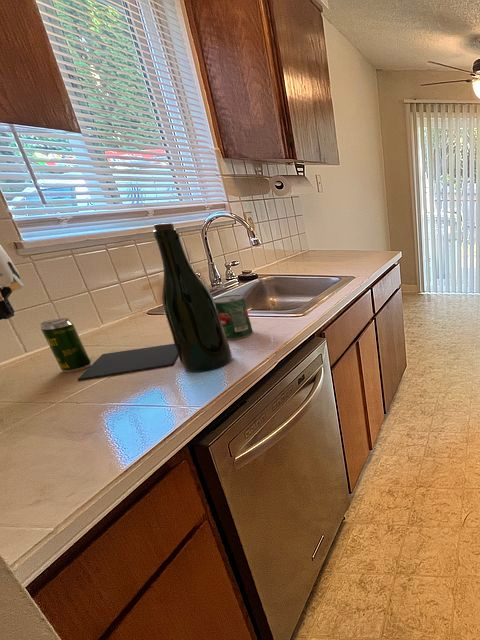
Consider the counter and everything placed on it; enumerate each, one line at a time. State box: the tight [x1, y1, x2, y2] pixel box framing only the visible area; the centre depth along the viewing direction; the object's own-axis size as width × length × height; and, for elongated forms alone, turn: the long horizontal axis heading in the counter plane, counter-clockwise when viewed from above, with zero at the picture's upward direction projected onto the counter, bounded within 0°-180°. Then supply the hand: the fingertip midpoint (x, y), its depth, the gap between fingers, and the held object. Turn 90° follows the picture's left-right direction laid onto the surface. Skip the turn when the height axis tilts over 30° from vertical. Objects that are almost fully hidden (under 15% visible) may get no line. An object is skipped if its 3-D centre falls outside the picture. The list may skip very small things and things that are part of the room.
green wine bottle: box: [153, 222, 233, 373], centre depth 91 cm, size 10×10×33 cm
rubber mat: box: [77, 343, 179, 382], centre depth 101 cm, size 18×16×1 cm
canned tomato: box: [213, 294, 254, 341], centre depth 114 cm, size 8×8×11 cm
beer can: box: [40, 317, 92, 373], centre depth 95 cm, size 5×5×12 cm
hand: (6, 317), depth 88 cm, fingers closed
